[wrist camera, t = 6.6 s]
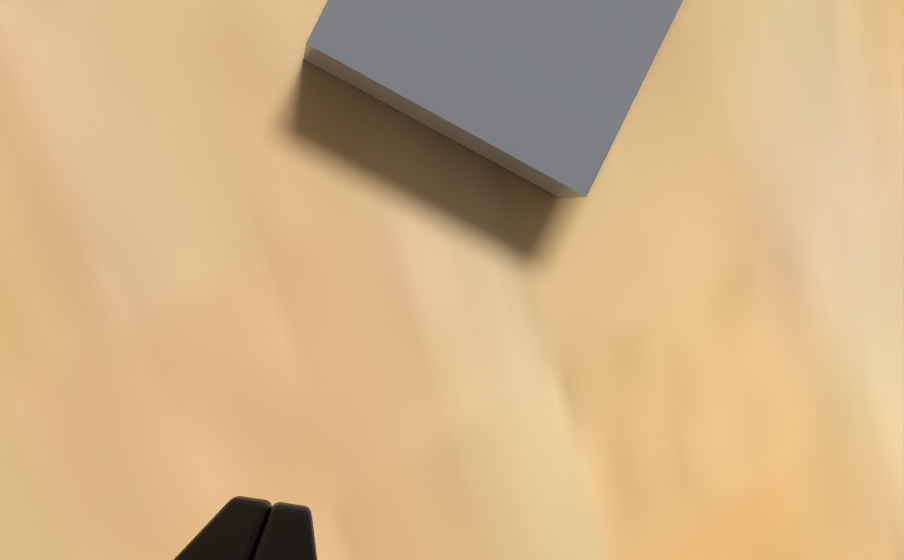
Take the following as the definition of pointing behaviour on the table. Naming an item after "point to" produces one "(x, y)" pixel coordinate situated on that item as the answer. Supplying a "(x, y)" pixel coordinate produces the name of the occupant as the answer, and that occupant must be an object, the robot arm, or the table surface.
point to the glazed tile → (502, 73)
